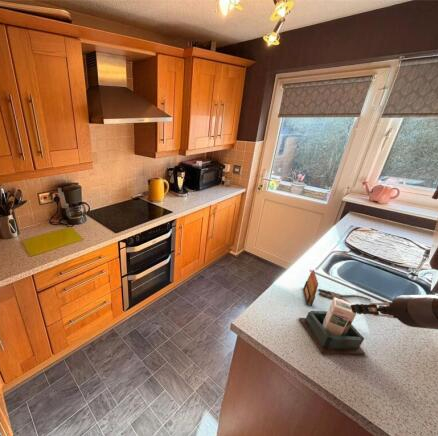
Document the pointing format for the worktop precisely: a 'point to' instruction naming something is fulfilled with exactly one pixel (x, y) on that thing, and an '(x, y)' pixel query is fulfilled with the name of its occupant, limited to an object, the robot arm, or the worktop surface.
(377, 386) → the worktop surface
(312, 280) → the orange brown flat panel
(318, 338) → the holder
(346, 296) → the pliers
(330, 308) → the syrup box
